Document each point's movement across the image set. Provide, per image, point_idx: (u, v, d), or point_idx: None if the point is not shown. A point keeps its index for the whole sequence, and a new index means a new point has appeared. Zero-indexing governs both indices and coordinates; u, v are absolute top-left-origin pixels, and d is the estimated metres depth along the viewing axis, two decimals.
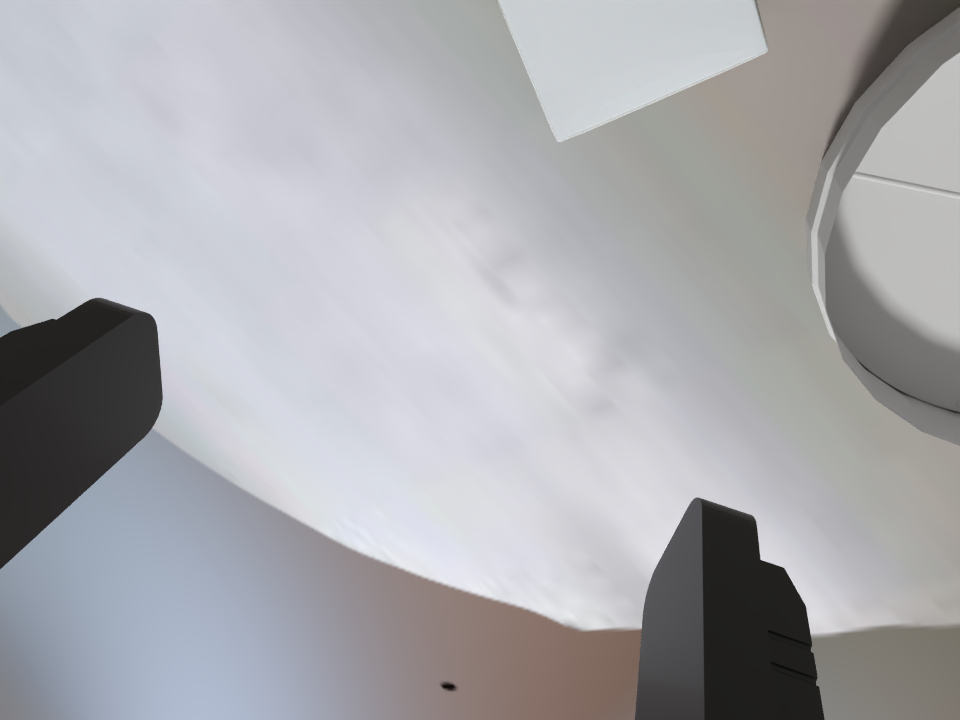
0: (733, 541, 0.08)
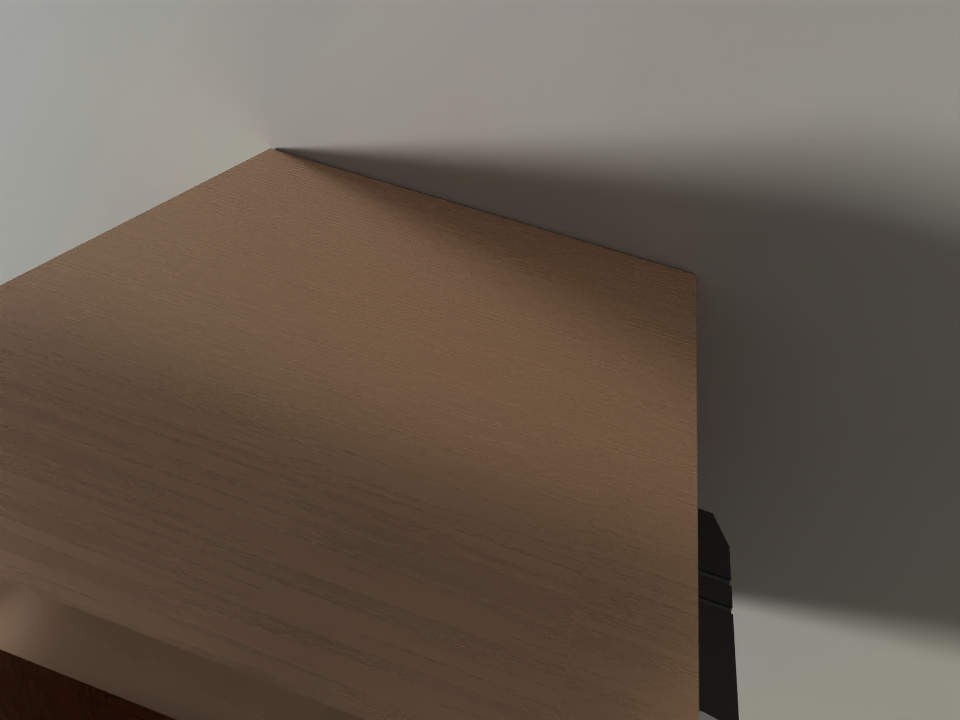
0: None
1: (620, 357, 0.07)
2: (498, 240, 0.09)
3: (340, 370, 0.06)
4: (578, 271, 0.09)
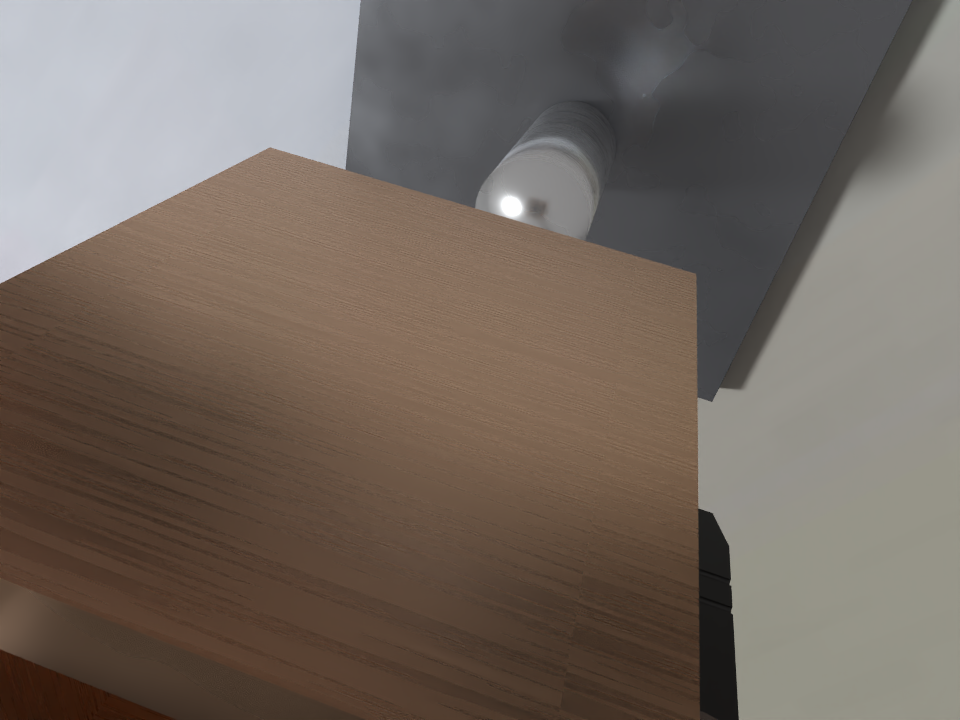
0: None
1: (619, 356, 0.07)
2: (498, 239, 0.09)
3: (340, 369, 0.06)
4: (578, 270, 0.09)
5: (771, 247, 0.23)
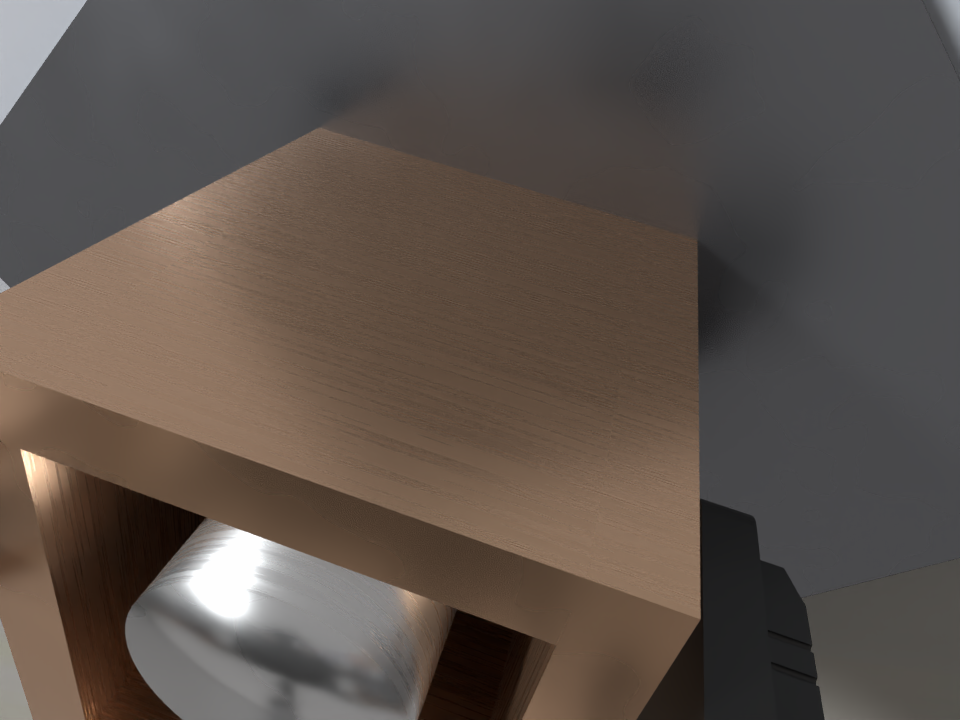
0: (733, 541, 0.08)
1: (632, 300, 0.08)
2: (524, 207, 0.10)
3: (403, 302, 0.07)
4: (594, 234, 0.10)
5: None
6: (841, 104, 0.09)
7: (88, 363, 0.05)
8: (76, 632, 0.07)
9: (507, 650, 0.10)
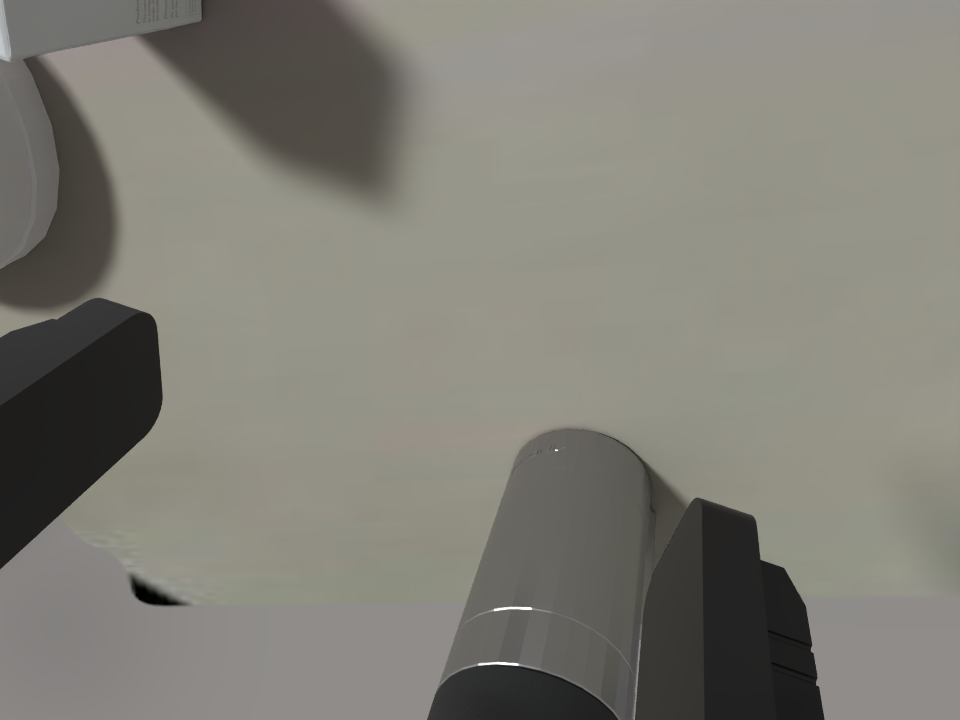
0: (733, 541, 0.08)
1: None
2: None
3: None
4: None
5: None
6: None
7: None
8: None
9: None
